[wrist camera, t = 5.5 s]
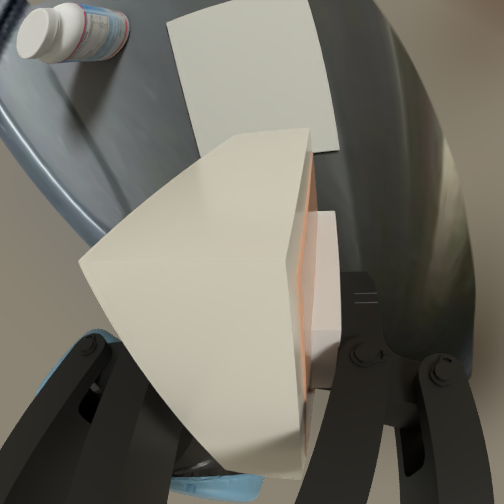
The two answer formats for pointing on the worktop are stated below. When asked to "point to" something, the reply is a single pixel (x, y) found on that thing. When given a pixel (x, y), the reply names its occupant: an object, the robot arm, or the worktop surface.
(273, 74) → the mat
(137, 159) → the worktop surface
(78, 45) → the pill bottle
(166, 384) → the cream rectangular block
